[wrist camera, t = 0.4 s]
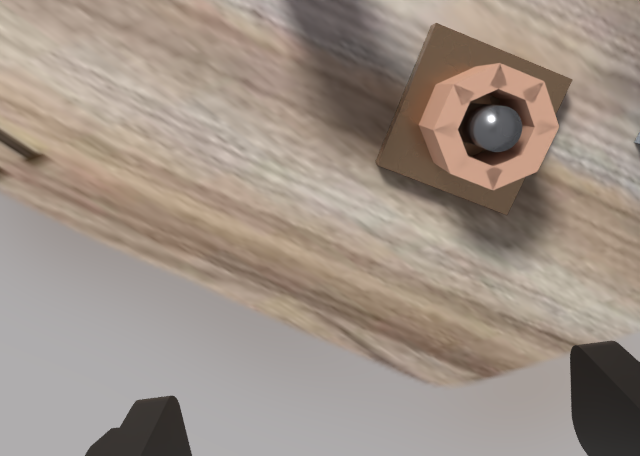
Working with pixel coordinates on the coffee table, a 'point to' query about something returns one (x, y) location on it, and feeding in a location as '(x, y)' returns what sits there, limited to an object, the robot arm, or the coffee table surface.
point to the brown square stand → (477, 124)
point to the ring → (512, 92)
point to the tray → (638, 139)
